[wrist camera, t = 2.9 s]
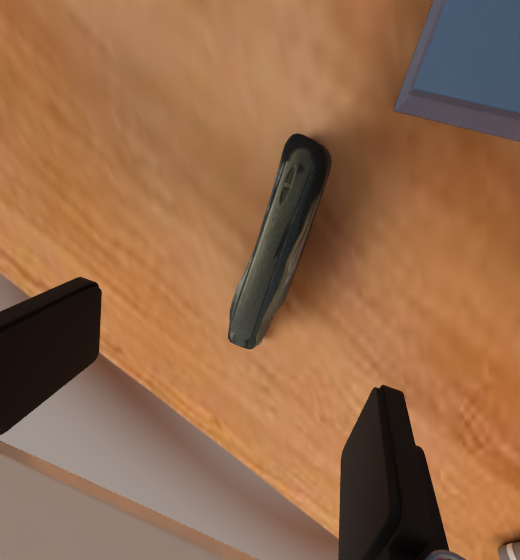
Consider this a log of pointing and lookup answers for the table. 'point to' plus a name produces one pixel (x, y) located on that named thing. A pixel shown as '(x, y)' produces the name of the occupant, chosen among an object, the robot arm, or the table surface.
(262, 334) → the mobile phone
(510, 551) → the binoculars
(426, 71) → the blue box
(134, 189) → the table surface
